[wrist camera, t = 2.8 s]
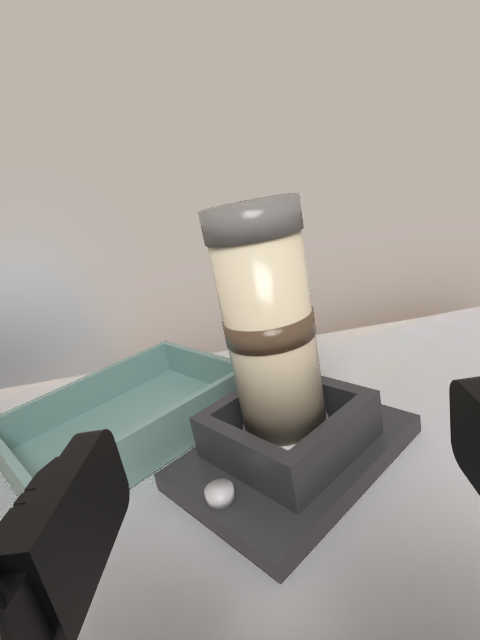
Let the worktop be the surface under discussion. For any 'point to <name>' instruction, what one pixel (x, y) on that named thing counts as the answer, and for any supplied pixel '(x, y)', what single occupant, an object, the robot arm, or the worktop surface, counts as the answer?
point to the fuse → (267, 314)
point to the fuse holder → (285, 474)
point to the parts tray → (118, 412)
